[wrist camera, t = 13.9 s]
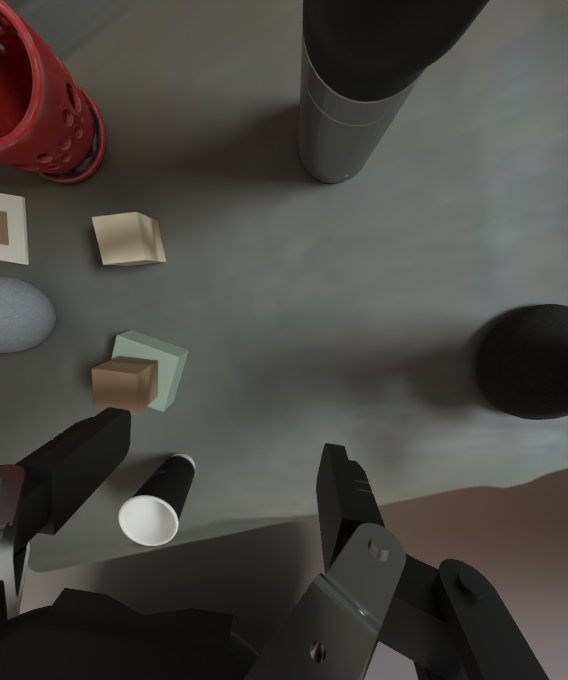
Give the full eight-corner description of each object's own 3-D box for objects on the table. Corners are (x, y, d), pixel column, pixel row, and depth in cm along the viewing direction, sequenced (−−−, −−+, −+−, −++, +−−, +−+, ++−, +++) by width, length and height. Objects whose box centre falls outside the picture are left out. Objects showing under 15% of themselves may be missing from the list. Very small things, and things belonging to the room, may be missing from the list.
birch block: (120, 225, 38) (91, 217, 33) (158, 220, 38) (136, 211, 32) (129, 266, 39) (103, 264, 34) (166, 262, 39) (145, 259, 34)
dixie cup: (164, 438, 46) (125, 488, 35) (210, 454, 46) (184, 508, 35) (153, 476, 47) (112, 535, 37) (196, 491, 48) (169, 553, 37)
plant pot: (111, 203, 37) (29, 171, 26) (16, 172, 37) (-111, 124, 25) (128, 96, 34) (44, 4, 23) (25, 60, 34) (-115, -53, 22)
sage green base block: (133, 329, 42) (116, 335, 38) (189, 349, 42) (179, 357, 38) (121, 381, 44) (104, 391, 40) (174, 399, 44) (163, 411, 40)
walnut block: (119, 355, 39) (91, 368, 33) (158, 360, 39) (136, 374, 33) (120, 391, 40) (93, 409, 34) (157, 396, 40) (137, 415, 34)
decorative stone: (-6, 294, 41) (-100, 299, 31) (47, 264, 40) (-33, 261, 30) (34, 352, 43) (-42, 375, 33) (86, 326, 42) (23, 342, 32)
